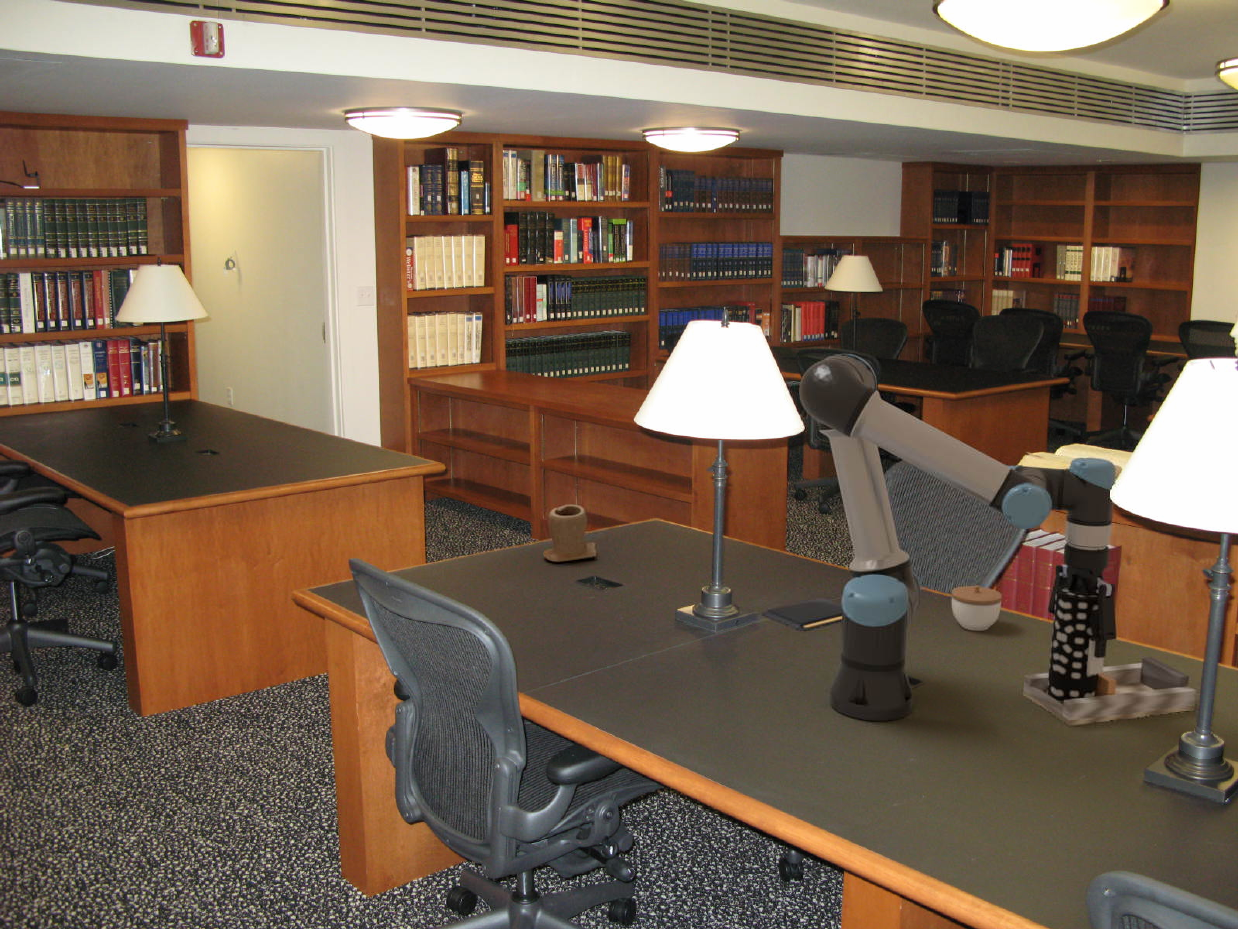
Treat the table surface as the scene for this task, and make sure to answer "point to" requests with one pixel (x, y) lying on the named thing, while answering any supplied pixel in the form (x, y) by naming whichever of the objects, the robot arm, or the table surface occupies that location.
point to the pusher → (1105, 685)
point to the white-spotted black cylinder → (1071, 646)
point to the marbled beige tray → (1120, 694)
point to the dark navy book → (807, 614)
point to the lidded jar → (976, 607)
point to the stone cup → (568, 534)
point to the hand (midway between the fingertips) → (1077, 663)
